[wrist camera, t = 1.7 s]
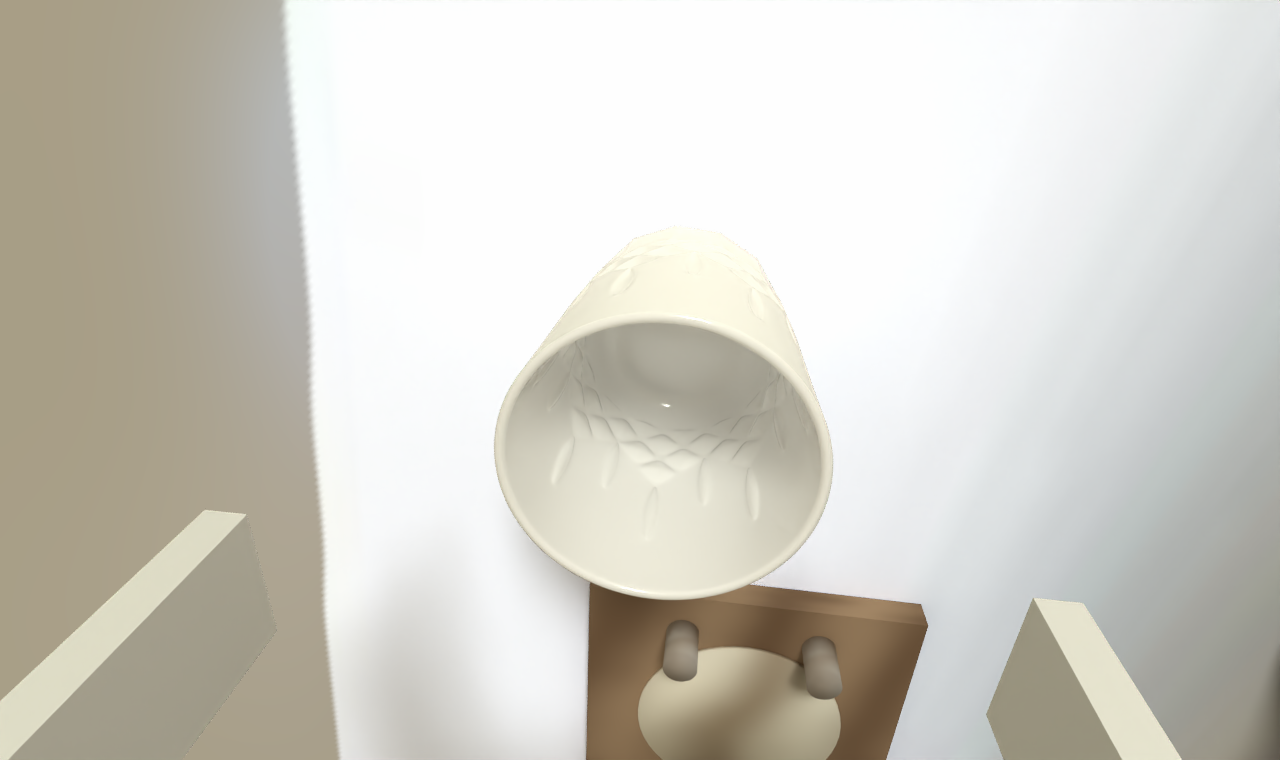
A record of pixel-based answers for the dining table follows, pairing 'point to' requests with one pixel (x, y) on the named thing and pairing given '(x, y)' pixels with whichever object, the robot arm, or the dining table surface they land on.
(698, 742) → the pin board
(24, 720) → the robot arm
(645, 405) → the white cup
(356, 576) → the dining table surface
